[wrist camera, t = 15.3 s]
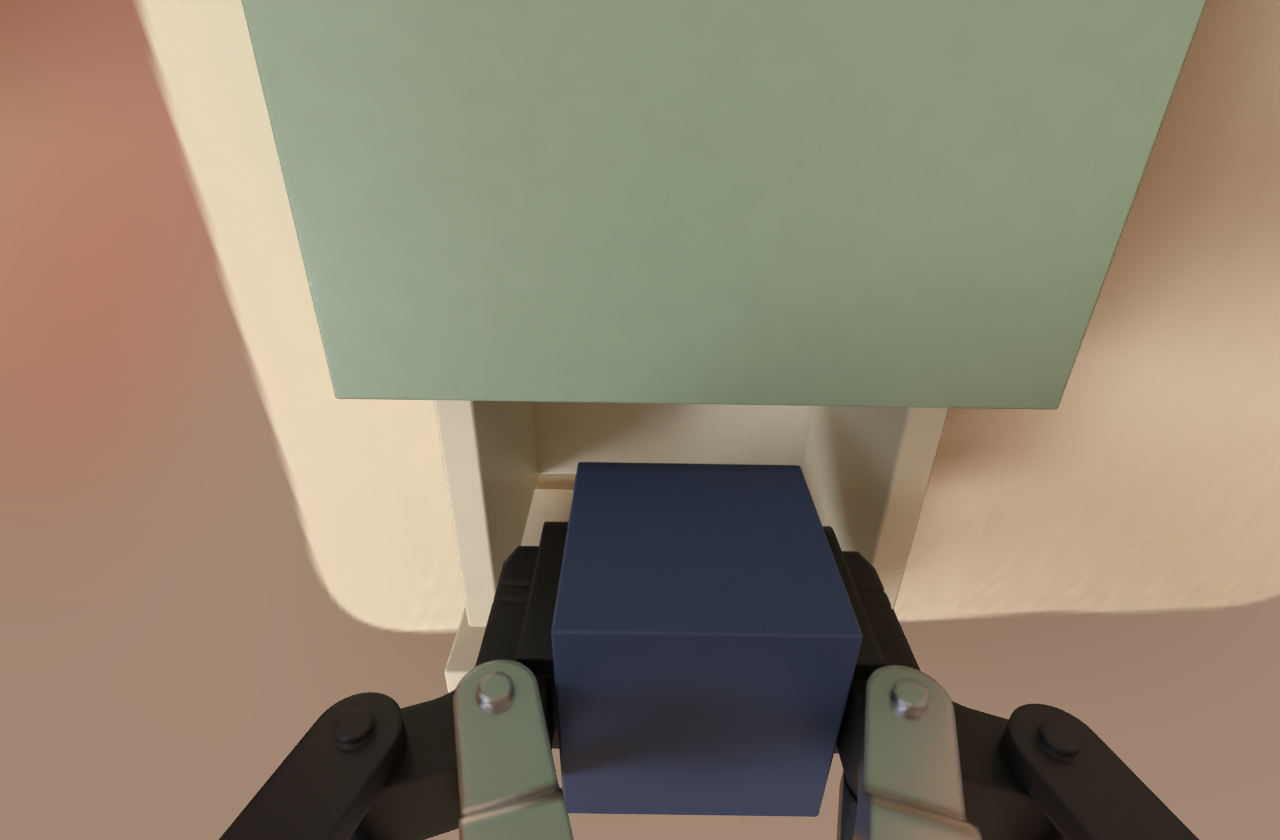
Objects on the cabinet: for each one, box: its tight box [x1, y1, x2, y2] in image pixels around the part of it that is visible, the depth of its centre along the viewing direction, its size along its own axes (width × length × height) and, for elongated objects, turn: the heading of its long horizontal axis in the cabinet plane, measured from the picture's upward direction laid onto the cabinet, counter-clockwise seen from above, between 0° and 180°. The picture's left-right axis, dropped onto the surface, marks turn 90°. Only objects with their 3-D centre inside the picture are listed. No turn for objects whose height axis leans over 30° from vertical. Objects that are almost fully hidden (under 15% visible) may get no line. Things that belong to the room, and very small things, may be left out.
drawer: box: [433, 400, 949, 693], centre depth 18 cm, size 19×11×8 cm, turn 179°
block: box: [551, 462, 863, 817], centre depth 12 cm, size 4×4×4 cm
